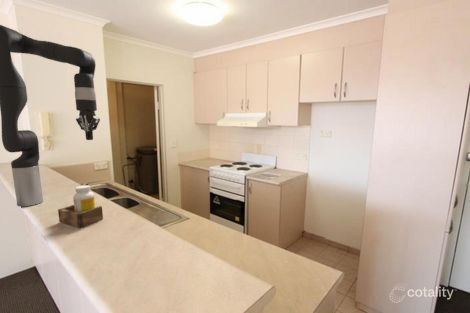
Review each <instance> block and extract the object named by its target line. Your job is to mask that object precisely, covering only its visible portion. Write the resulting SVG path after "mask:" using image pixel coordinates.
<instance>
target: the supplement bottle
mask: <svg viewBox="0 0 470 313" xmlns="http://www.w3.org/2000/svg"><path fill="white" fill-rule="evenodd" d="M75 192H76V193H75V194H74V195H73V198H72V199H73V200H72V201H73V205H74V208H75V212H78V213H82V212H84V211H87V210H90V209H93V208H96V203H95V193H94V192H92V191H91V185H78V186H76V187H75Z"/></svg>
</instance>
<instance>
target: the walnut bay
mask: <svg viewBox="0 0 470 313" xmlns="http://www.w3.org/2000/svg"><path fill="white" fill-rule="evenodd" d="M57 211H58V219H59V221H58V222H59V223H60V224H63V225H67V226H71V227H74V228H78V229H83V228H84V227H87V226H90V225H92V224H94V223H97V222H100V221H102V220H104V215H103V206H101V205H99V206H95V208H93V209H90V210H87V211H84V212H82V213H78V212H75V208H74V204H71V205H68V206H65V207H63V208H62V207H61V208H59V209H57Z"/></svg>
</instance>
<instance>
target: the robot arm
mask: <svg viewBox="0 0 470 313" xmlns="http://www.w3.org/2000/svg"><path fill="white" fill-rule="evenodd" d="M11 53H13V54H25V55H27V54H28V55H34V56H38V57H41V58H44V59H47V60H50V61H55V62H59V63H62V64H63V63H64V64H68V65H70V66H71V65H72V66H75V67H79V69H78V70H79V71H78V72H77V73H75V74H74V76H73V80H74V81H73V82H74V98H75V108H76V111H79V115H78V116H79V117H78V118H77V117H76V118H75V120H76V123H77V125H78V126H79V128H80V130H81V131H84V132H85V140H86V141H93V139H94V133H93V132H94V131H95V130H97V128H98V126H99V123H100V121H101V120H100V118H99V117H97V115H96V111H97V109H98V108H97V97H96V96H97V94H96V91H95V84H94V83H95V82H94V81H95V80H94V78H95V72H96V59H95V56H93V54H92V53H90V52H88V51H86V50H83V49H82V48H80V47H79V48H78V47H75V46H71V45H70V46H69V45H63V44H60V43H57V42H52V41H47V40H39V39H35V38H31V37H30V36H27V35H25V34H23V33H21V32H18V31H17V30H14V29H12V28H10V27H7V26H4V25H3V24H0V118H1V119H0V120H1V121H0V122H1V123H0V124H1V142H2V146H3V147H4V149H5V151H7V152H8V153H21V154H20V156H19V157H16V158H15V159H13V160H12V161H10V165H11V172H12V178H13V180H12V181H13V184H14V186H13V187H14V192H15V199H16V200H15V201H16V206H17V207H21V208H22V207H31V206H35V204H36V205H38V204H41V203H43V202H44V196H43V195H44V194H43V187H42V181H41V174H40V173H41V172H40V166H39V160H40V145H39V139H38V136H37V134H36V133H35V132H34V131H33V130H28V129H25V130H23V129H22V130H19V128H18V127H19V126H18V124H19V123H18V120H19V117H20V115H21V114H22V112H23V110H24V109H25V107H26V105H27V103H28V92H27V87H26V86H27V85H26V82H25V80H24V79H23V77H22V75H21V74H20V73H19V71H18V69H17V68H16V66H15V65H14V62H13V60H12V54H11ZM30 205H31V206H30Z"/></svg>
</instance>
